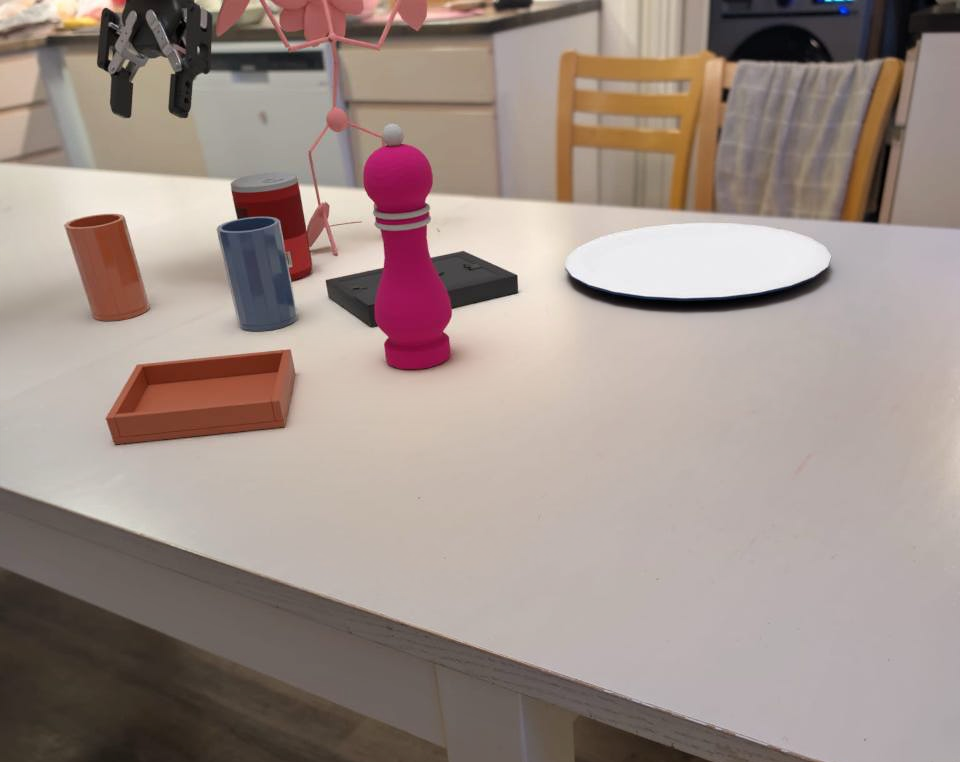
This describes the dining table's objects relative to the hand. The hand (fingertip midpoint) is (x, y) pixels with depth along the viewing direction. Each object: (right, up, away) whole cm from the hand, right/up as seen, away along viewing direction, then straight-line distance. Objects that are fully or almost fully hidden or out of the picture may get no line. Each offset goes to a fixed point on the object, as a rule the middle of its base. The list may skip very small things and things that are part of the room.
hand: (149, 115), depth 102 cm
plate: (+60, -15, +4) cm, 62 cm away
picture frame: (+29, -18, +4) cm, 35 cm away
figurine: (+18, -2, +27) cm, 33 cm away
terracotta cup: (-6, -19, +7) cm, 21 cm away
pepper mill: (+30, -30, -12) cm, 44 cm away
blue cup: (+13, -22, +1) cm, 26 cm away
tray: (+12, -36, -18) cm, 42 cm away
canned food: (+11, -12, +15) cm, 22 cm away
